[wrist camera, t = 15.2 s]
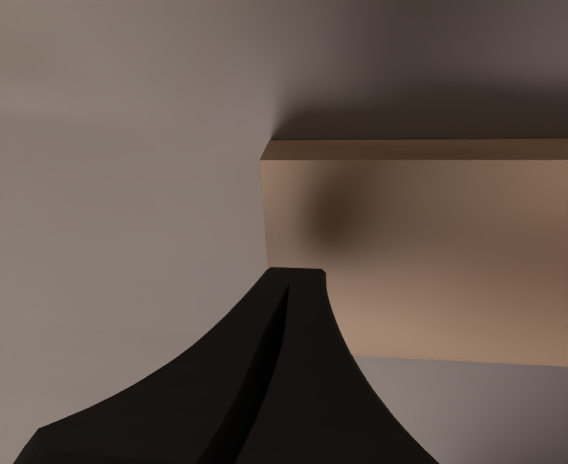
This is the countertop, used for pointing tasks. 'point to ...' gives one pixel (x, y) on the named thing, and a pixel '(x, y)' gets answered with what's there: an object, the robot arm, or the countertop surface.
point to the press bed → (429, 242)
